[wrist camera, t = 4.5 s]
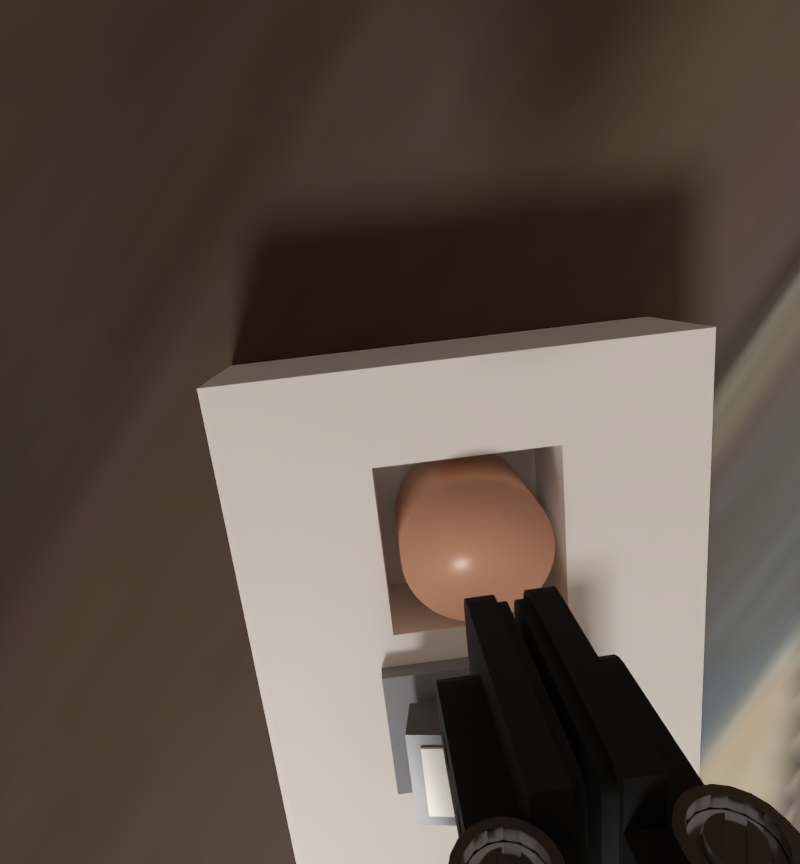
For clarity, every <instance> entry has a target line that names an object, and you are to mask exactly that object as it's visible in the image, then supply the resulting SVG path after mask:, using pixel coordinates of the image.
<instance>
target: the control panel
mask: <svg viewBox="0 0 800 864" xmlns="http://www.w3.org/2000/svg"><path fill="white" fill-rule="evenodd" d="M715 341H716V327H712V326H706V325H699V324H693V323H686V322H679V321H673V320H666V319H660V318H653V317H639V318H630V319H622V320H613V321H605V322H596V323H588V324H579V325H571V326H562V327H554V328H546V329H537V330H529V331H520V332H512V333H503V334H495V335H486V336H478V337H469V338H461V339H452V340H444V341H435V342H427V343H418V344H410V345H401V346H393V347H384V348H376V349H367V350H359V351H351V352H342V353H334V354H325V355H317V356H308V357H300V358H291V359H283V360H274V361H266V362H257V363H249V364H240V365H232V366H230V367H228V368H227V369H225V370H224V371H222V372H221V373H219V374H218V375H216V376H215V377H213V378H212V379H211V380H209V381H208V382H206V383H205V384H203V385H202V386H200V387H199V388H197V392H198V397H199V401H200V406H201V411H202V416H203V420H204V425H205V430H206V435H207V440H208V444H209V449H210V454H211V459H212V463H213V468H214V473H215V478H216V483H217V487H218V492H219V497H220V502H221V506H222V511H223V516H224V521H225V526H226V530H227V535H228V540H229V545H230V549H231V554H232V559H233V564H234V569H235V573H236V578H237V583H238V588H239V592H240V597H241V602H242V607H243V612H244V616H245V621H246V626H247V631H248V635H249V640H250V645H251V650H252V655H253V659H254V664H255V669H256V674H257V678H258V683H259V688H260V693H261V697H262V702H263V707H264V712H265V717H266V721H267V726H268V731H269V736H270V740H271V745H272V750H273V755H274V760H275V764H276V769H277V774H278V779H279V783H280V788H281V793H282V798H283V803H284V807H285V812H286V817H287V822H288V826H289V831H290V836H291V841H292V846H293V850H294V855H295V860H296V864H449V857H450V853H451V851H452V849H453V847H454V845H455V843H456V841H457V839H458V838H459V837H458V831H457V826H449V825H417V821H416V814H415V806H414V799H413V791H412V783H411V776H410V768H409V761H408V753H407V746H406V738H405V732H406V725H407V718H408V711H409V704H410V703H437V697H436V687H435V680H439V679H446V678H453V677H460V676H467V675H470V671H469V660H468V648H467V637H466V625H465V621H461V620H455V619H451V618H448V617H445V616H443V615H440V614H438V613H436V612H434V611H433V610H431V609H429V608H428V607H427V606H425V605H424V604H423V603H422V602H421V601H420V600H419V599H418V598H417V597H416V596H415V595H414V593H413V592H412V590H411V589H410V587H409V585H408V584H407V582H406V579H405V576H404V574H403V570H402V565H401V557H400V549H399V540H398V532H397V523H396V511H395V508H396V499H397V495H398V492H399V489H400V486H401V484H402V482H403V481H404V479H405V477H406V476H407V474H408V473H409V472H410V471H411V469H412V468H413V467H414V466H415V465H416V464H418V463H420V462H428V461H436V460H445V459H453V458H461V457H469V456H477V455H485V454H493V453H494V454H496V455H498V456H499V457H500V458H502V459H503V460H505V461H506V462H507V463H508V464H509V465H510V466H511V467H512V468H513V470H514V471H515V472H516V474H517V475H518V476H519V478H520V479H521V480H522V482H523V483H524V484H525V486H526V487H527V488H528V490H529V491H530V492H531V494H532V495H533V496H534V498H535V499H536V500H537V502H538V503H539V504H540V506H541V507H542V508H543V510H544V511H545V513H546V515H547V516H548V518H549V520H550V523H551V525H552V529H553V532H554V538H555V555H554V561H553V564H552V567H551V571H550V573H549V575H548V577H547V579H546V581H545V582H544V584H543V586H542V587H541V588H543V587H550V586H555V587H556V588H557V589H558V591H559V592H560V594H561V596H562V597H563V599H564V601H565V602H566V604H567V606H568V607H569V609H570V611H571V612H572V614H573V616H574V617H575V619H576V621H577V622H578V624H579V626H580V627H581V629H582V630H583V632H584V634H585V635H586V637H587V639H588V640H589V642H590V644H591V645H592V647H593V649H594V650H595V652H596V654H597V655H598V657H599V656H606V655H613V654H615V655H617V656H619V657H620V659H621V660H622V661H623V662H624V664H625V665H626V667H627V668H628V670H629V671H630V673H631V674H632V676H633V677H634V679H635V680H636V682H637V683H638V685H639V686H640V688H641V689H642V691H643V692H644V694H645V695H646V697H647V699H648V700H649V702H650V703H651V705H652V706H653V708H654V709H655V711H656V712H657V714H658V715H659V717H660V718H661V720H662V721H663V723H664V724H665V726H666V727H667V729H668V730H669V732H670V733H671V735H672V737H673V738H674V740H675V741H676V743H677V744H678V746H679V747H680V749H681V750H682V752H683V753H684V755H685V756H686V758H687V759H688V761H689V762H690V764H691V765H692V767H693V768H694V770H695V771H696V773H697V775H698V776H699V772H700V745H701V718H702V691H703V664H704V637H705V610H706V583H707V556H708V529H709V502H710V475H711V448H712V422H713V395H714V368H715ZM512 613H513V616H514V618H515V615H514V611H513V612H512Z"/></svg>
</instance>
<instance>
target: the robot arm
mask: <svg viewBox="0 0 800 864" xmlns="http://www.w3.org/2000/svg"><path fill="white" fill-rule="evenodd" d="M464 613H465V625H466V637H467V648H468V660H469V671H470V675H467V676H460V677H453V678H446V679H439V680H435V687H436V697H437V706H438V715H439V723H440V731H441V738H442V745H443V751H444V758H445V764H446V770H447V775H448V781H449V786H450V792H451V798H452V803H453V809H454V814H455V820H456V826H457V831H458V837H459V838H458V839H457V841H456V843H455V845H454V847H453V849H452V851H451V853H450V857H449V864H800V833H799V832H798V831H797V830H796V829H795V827H794V826H793V825H792V824H791V823H790V822H789V821H788V820H787V819H786V818H785V817H784V816H782V815H781V814H780V813H779V812H778V811H777V810H775V809H774V808H773V807H772V806H771V805H770V804H768V803H766V802H765V801H763V800H761V799H759V798H758V797H756V796H754V795H753V794H751V793H748V792H745V791H742V790H740V789H737V788H734V787H731V786H724V785H716V784H709V785H704V784H703V782H702V781H701V779H700V778H699V776H698V775H697V773H696V771H695V770H694V768H693V767H692V765H691V764H690V762H689V761H688V759H687V758H686V756H685V755H684V753H683V752H682V750H681V749H680V747H679V746H678V744H677V743H676V741H675V740H674V738H673V737H672V735H671V733H670V732H669V730H668V729H667V727H666V726H665V724H664V723H663V721H662V720H661V718H660V717H659V715H658V714H657V712H656V711H655V709H654V708H653V706H652V705H651V703H650V702H649V700H648V699H647V697H646V695H645V694H644V692H643V691H642V689H641V688H640V686H639V685H638V683H637V682H636V680H635V679H634V677H633V676H632V674H631V673H630V671H629V670H628V668H627V667H626V665H625V664H624V662H623V661H622V660H621V659H620V657H619V656H617V655H615V654H613V655H606V656H599V657H598V655H597V654H596V652H595V650H594V649H593V647H592V645H591V644H590V642H589V640H588V639H587V637H586V635H585V634H584V632H583V630H582V629H581V627H580V626H579V624H578V622H577V621H576V619H575V617H574V616H573V614H572V612H571V611H570V609H569V607H568V606H567V604H566V602H565V601H564V599H563V597H562V596H561V594H560V592H559V591H558V589H557V588H556V587H555V586H550V587H543V588H536V589H528V590H525V591H524V594H523V599H516V600H515V601H514V615H515V618H514V616H513V613H512V611H511V609H510V607H509V604H508V602H507V601H501V602H497V600H496V598H495V596H494V595H493V594H492V595H485V596H478V597H471V598H464Z"/></svg>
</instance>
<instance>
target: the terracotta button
mask: <svg viewBox="0 0 800 864" xmlns="http://www.w3.org/2000/svg"><path fill="white" fill-rule="evenodd" d="M395 511H396V523H397V532H398V540H399V549H400V557H401V565H402V570H403V574H404V576H405V579H406V582H407V584H408V585H409V587H410V589H411V590H412V592H413V593H414V595H415V596H416V597H417V598H418V599H419V600H420V601H421V602H422V603H423V604H424V605H425V606H427V607H428V608H429V609H431V610H433V611H434V612H436V613H438V614H440V615H443V616H445V617H448V618H451V619H455V620H461V621H465V613H464V598H471V597H478V596H485V595H492V594H493V595H494V596H495V598H496V600H497V602H501V601H507V602H508V604H509V607H510V609H511V611H512V612H513V611H514V601H515V600H516V599H523V594H524V591H525V590H528V589H536V588H541V587H542V586H543V584H544V582H545V581H546V579H547V577H548V575H549V573H550V571H551V567H552V564H553V561H554V555H555V538H554V532H553V529H552V525H551V523H550V520H549V518H548V516H547V515H546V513H545V511H544V510H543V508H542V507H541V506H540V504H539V503H538V502H537V500H536V499H535V498H534V496H533V495H532V494H531V492H530V491H529V490H528V488H527V487H526V486H525V484H524V483H523V482H522V480H521V479H520V478H519V476H518V475H517V474H516V472H515V471H514V470H513V468H512V467H511V466H510V465H509V464H508V463H507V462H506V461H505V460H503V459H502V458H500V457H499V456H498V455H496V454H494V453H493V454H485V455H477V456H469V457H461V458H453V459H445V460H436V461H428V462H420V463H418V464H416V465H415V466H414V467H413V468H412V469H411V471H410V472H409V473H408V474H407V476H406V477H405V479H404V481H403V482H402V484H401V486H400V489H399V492H398V495H397V499H396V508H395Z"/></svg>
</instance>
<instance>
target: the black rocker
mask: <svg viewBox="0 0 800 864" xmlns="http://www.w3.org/2000/svg"><path fill="white" fill-rule="evenodd" d="M405 738H406V746H407V753H408V761H409V768H410V776H411V783H412V791H413V799H414V806H415V814H416V821H417V825H449V826H456V820H455V814H454V809H453V803H452V798H451V792H450V786H449V781H448V775H447V770H446V764H445V758H444V751H443V745H442V738H441V731H440V723H439V715H438V706H437V703H410V704H409V711H408V718H407V725H406V732H405Z"/></svg>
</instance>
